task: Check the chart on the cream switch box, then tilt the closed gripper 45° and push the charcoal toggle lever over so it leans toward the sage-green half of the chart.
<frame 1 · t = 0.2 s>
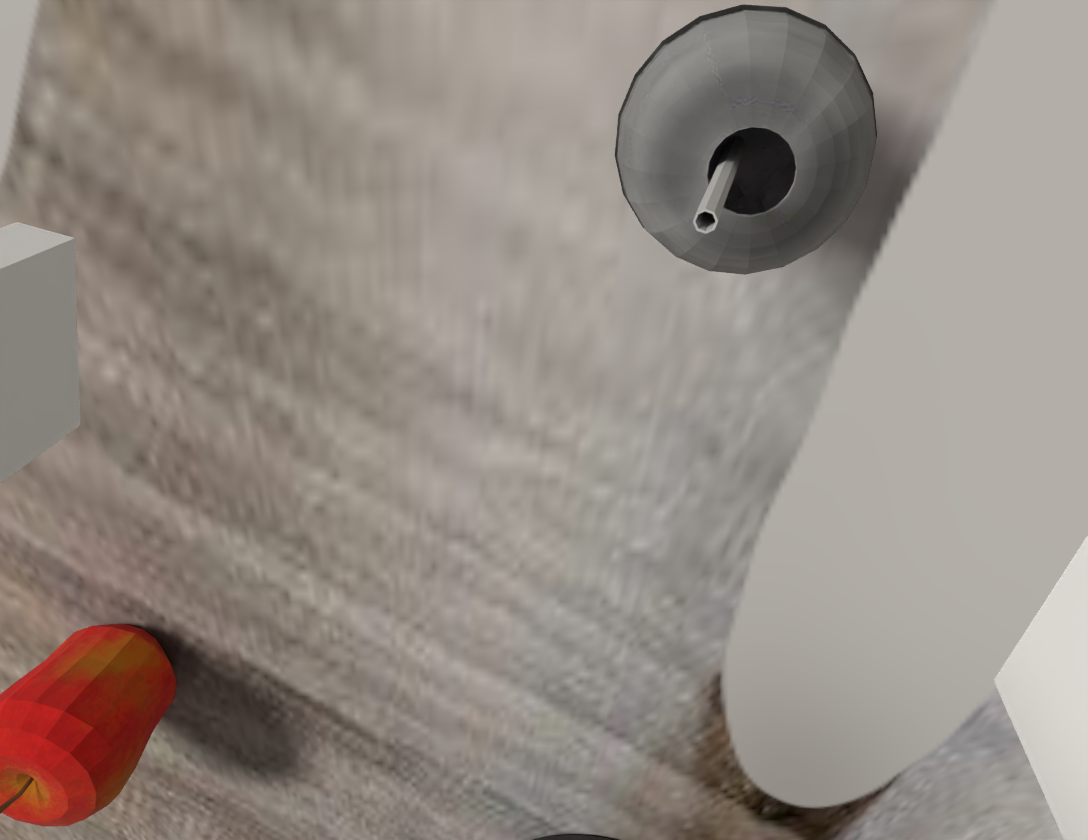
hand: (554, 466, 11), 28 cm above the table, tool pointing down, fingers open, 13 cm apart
beverage cup: (726, 97, 35), on the table
apple: (135, 651, 54), on the table
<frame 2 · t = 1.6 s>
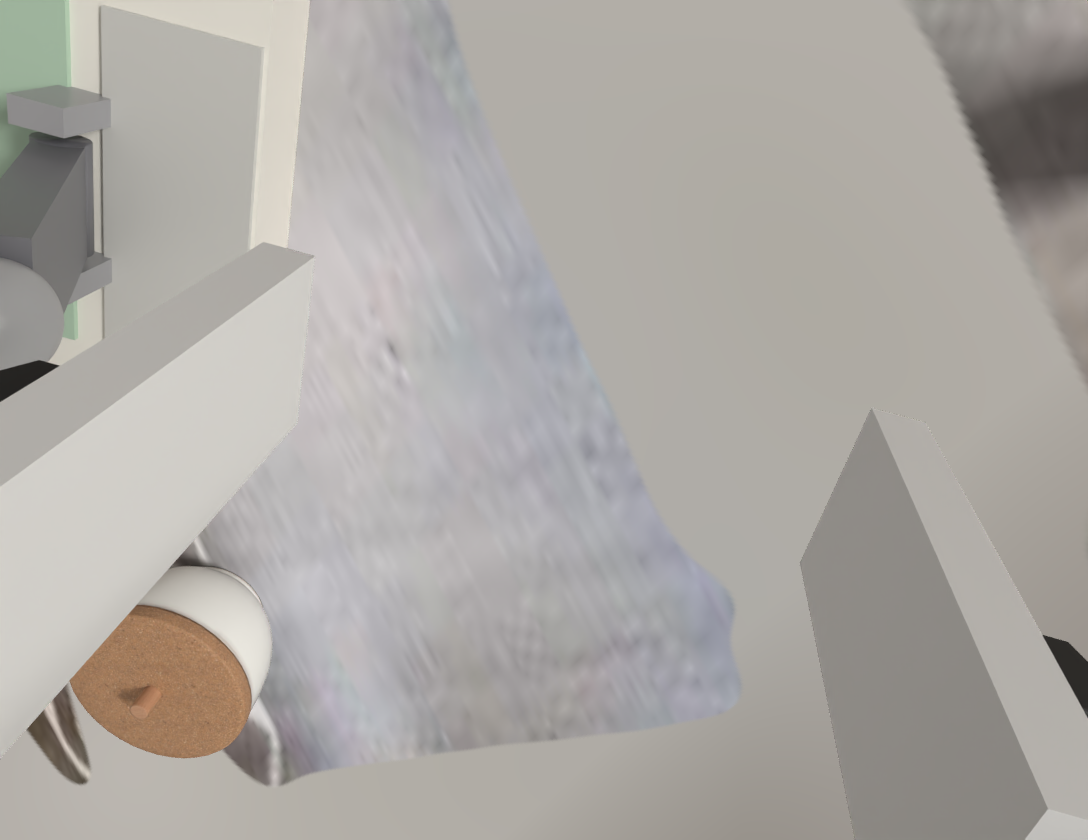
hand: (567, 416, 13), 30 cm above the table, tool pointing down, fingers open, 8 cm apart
toggle lever: (31, 251, 33), point 12 cm above the table, hinge at -25.0°
switch box: (138, 170, 44), on the table
lidded jar: (220, 602, 56), on the table
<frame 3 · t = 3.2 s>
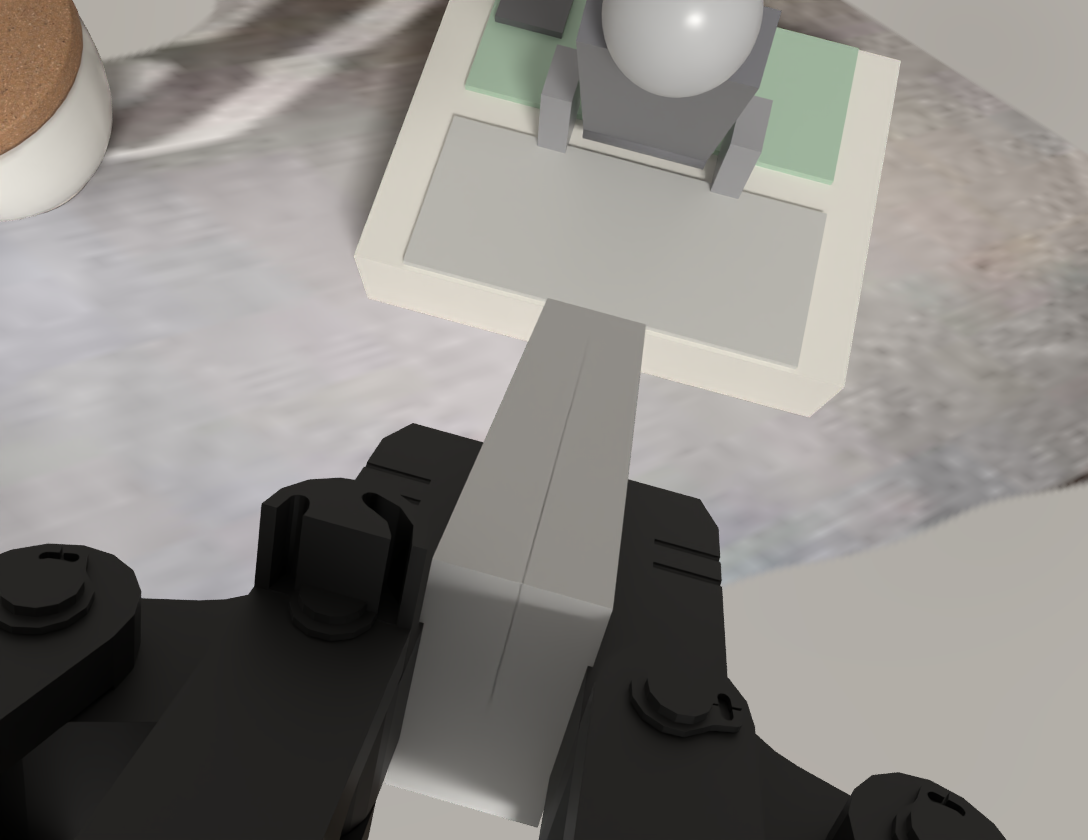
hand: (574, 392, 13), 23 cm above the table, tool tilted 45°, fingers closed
toggle lever: (663, 77, 28), point 12 cm above the table, hinge at -25.0°
switch box: (629, 202, 40), on the table
lidded jar: (31, 160, 40), on the table
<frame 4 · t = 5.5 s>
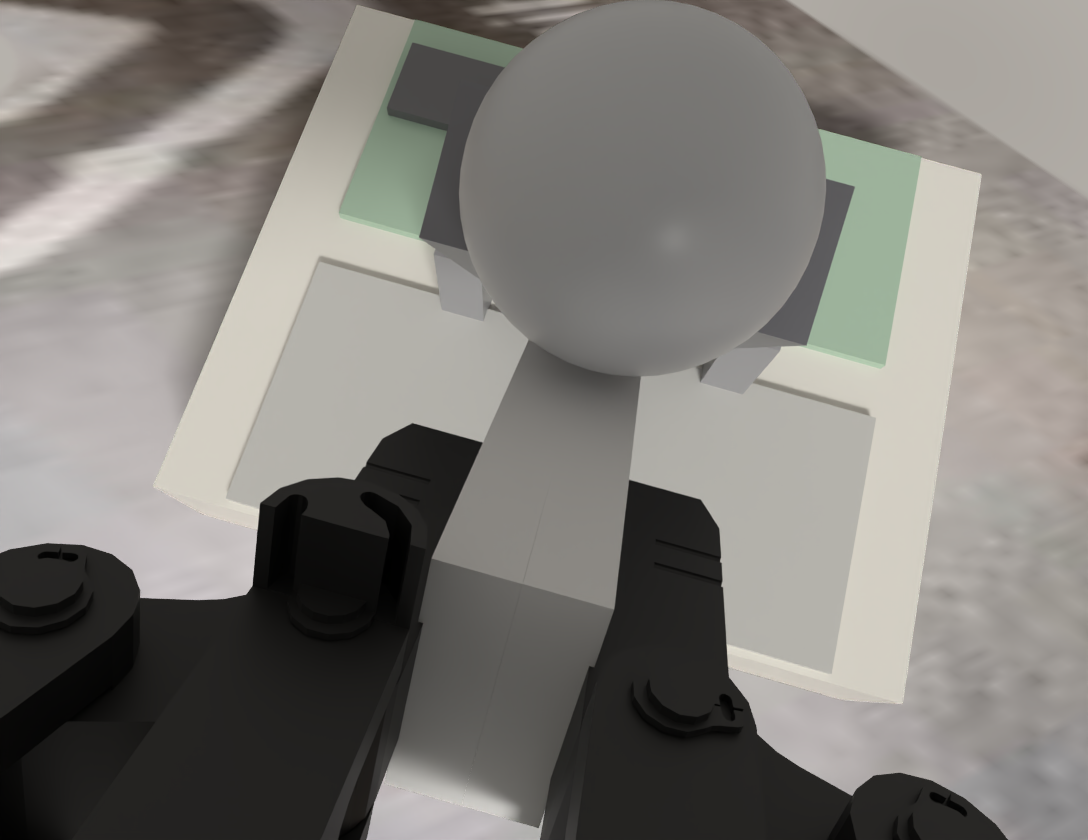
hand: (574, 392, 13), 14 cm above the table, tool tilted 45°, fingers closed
toggle lever: (619, 258, 16), point 12 cm above the table, hinge at -21.6°, touching gripper
switch box: (587, 366, 28), on the table
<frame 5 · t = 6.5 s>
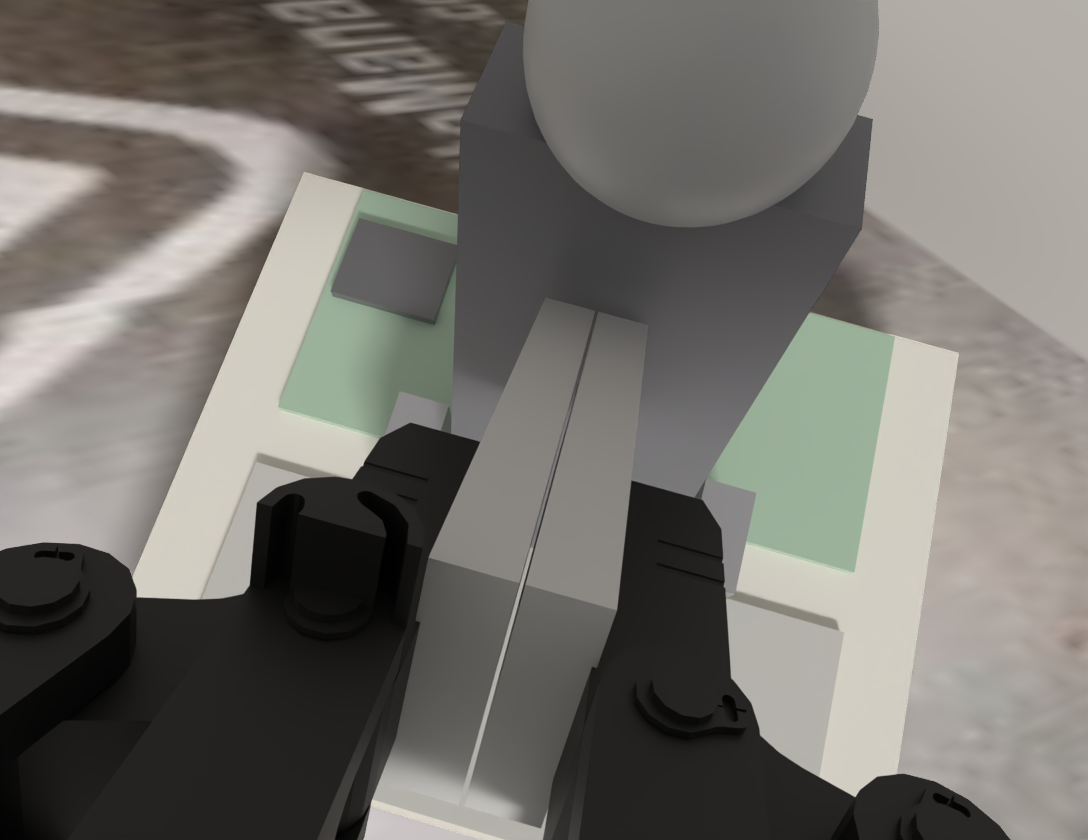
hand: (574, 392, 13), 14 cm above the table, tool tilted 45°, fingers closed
toggle lever: (606, 346, 15), point 13 cm above the table, hinge at 12.9°, touching gripper
switch box: (546, 542, 27), on the table
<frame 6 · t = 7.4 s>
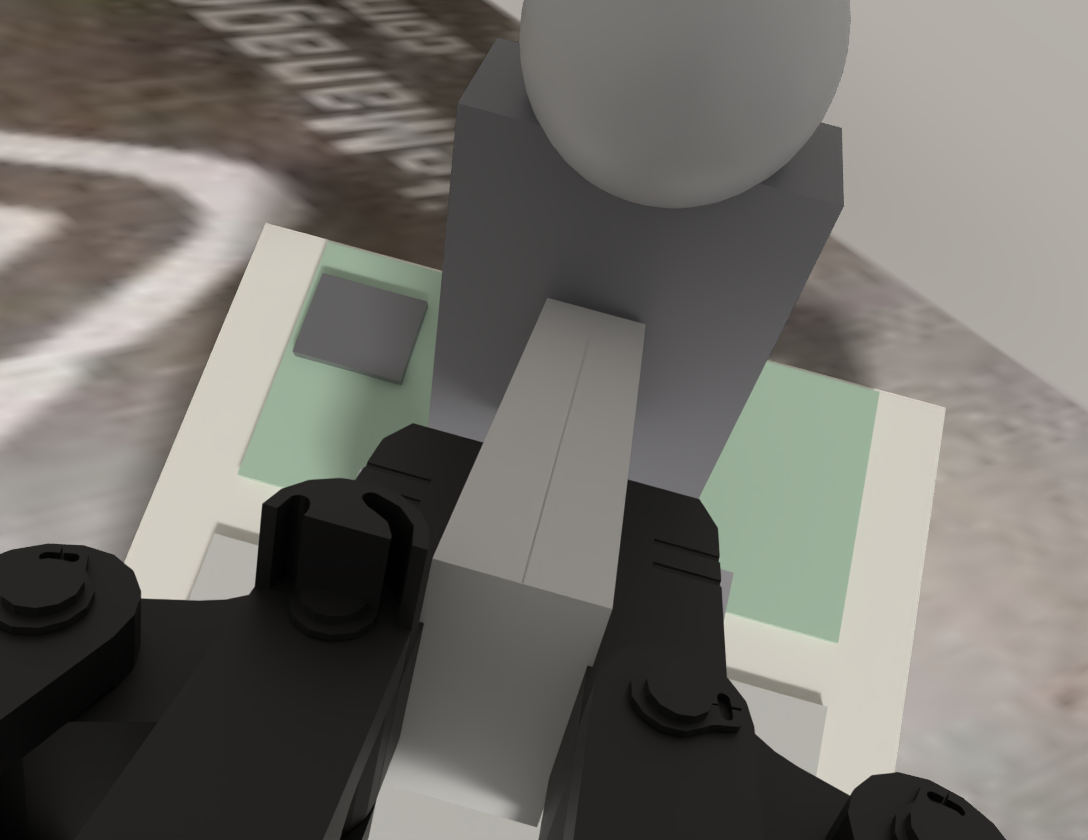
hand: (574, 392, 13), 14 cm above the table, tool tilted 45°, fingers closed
toggle lever: (585, 379, 15), point 12 cm above the table, hinge at 25.2°, touching gripper
switch box: (521, 602, 26), on the table
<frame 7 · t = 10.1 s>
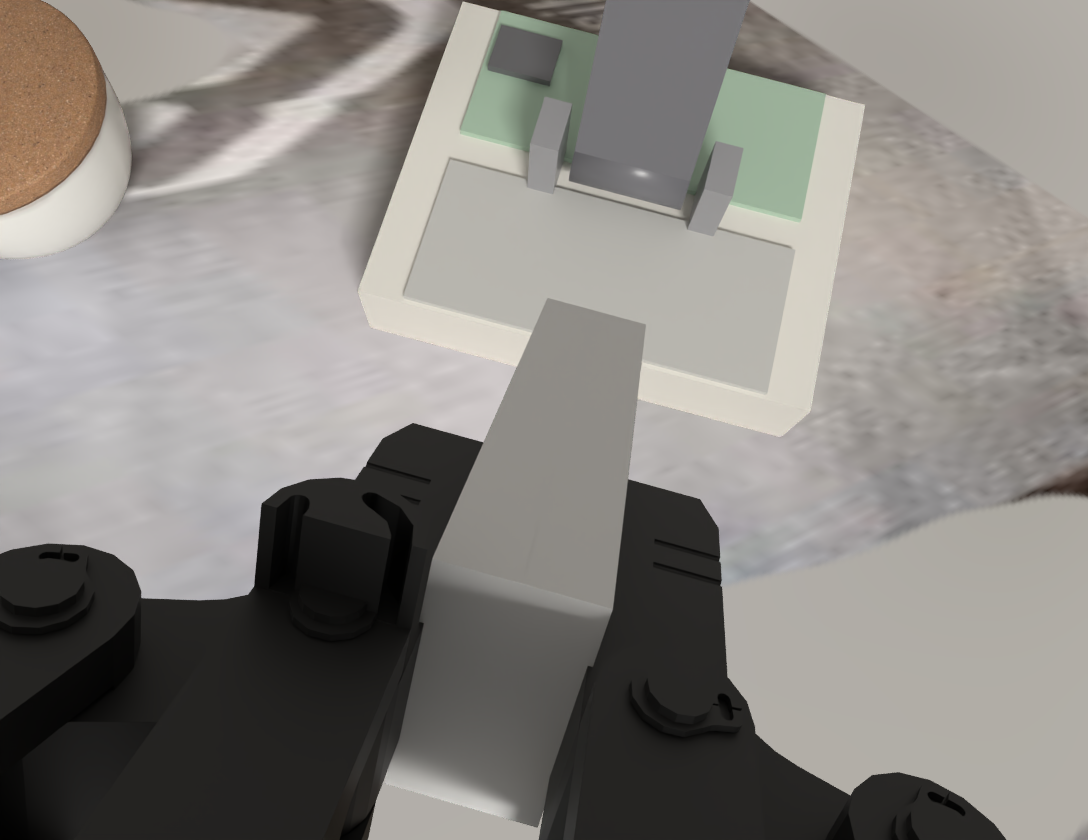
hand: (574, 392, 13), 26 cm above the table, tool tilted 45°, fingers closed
toggle lever: (674, 7, 33), point 12 cm above the table, hinge at 25.4°
switch box: (613, 236, 43), on the table
lidded jar: (54, 198, 43), on the table
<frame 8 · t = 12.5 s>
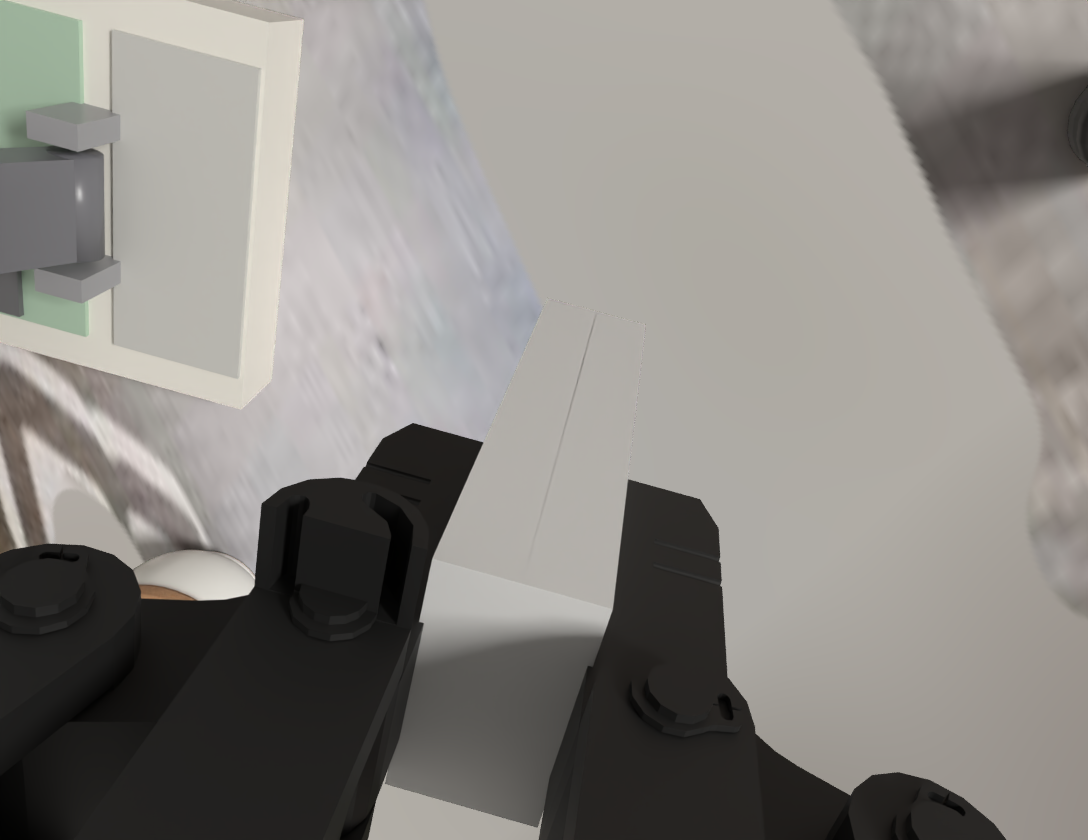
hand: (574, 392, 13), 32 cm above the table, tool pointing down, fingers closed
switch box: (145, 179, 47), on the table
lidded jar: (221, 585, 60), on the table
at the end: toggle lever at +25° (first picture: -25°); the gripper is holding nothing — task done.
